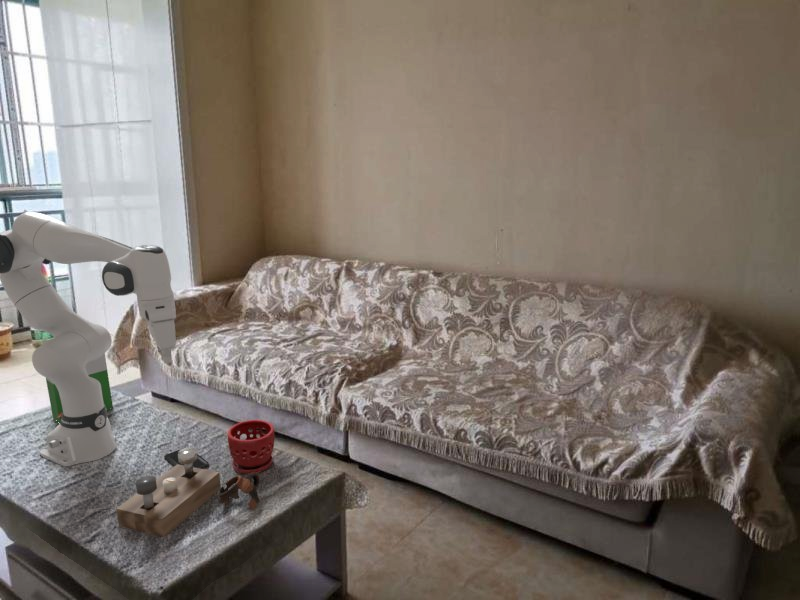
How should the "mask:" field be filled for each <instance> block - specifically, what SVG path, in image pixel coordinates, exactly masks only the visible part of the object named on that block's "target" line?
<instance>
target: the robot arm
mask: <svg viewBox="0 0 800 600" xmlns="http://www.w3.org/2000/svg"><path fill="white" fill-rule="evenodd" d="M167 256H168V255H167V254H166V251H165V250H164V249H163V248H162V247H160V246H158V245H153V244H140V245H136V246H133V247H132V246H129V245H126V244H124V243H121V242H119V241H116V240H113V239H111V238H107V237H104V236H102V235H99V234H96V233H93V232H90V231H86V230H83V229H82V228H78V227H77V226H75V225H74V226H73V225H71V224H69V223H67V222H65V221H62V220H60V219H58V218H57V217H53V216H51V215H48V214H45V213H41V212H37V211H25V212H23V213H21V214H19V215H18V216H17V217H15V219H14V220H13V223H12V227H11V228H10V229H8V230H5V231H2V232H0V283H1V284H2V287H3V289H4V291H5V293H6V295H7V296H8V298H9V299H10V301H11V303H12V304H13V305H14V307H15V308H16V309H17V311H18V312H19V313H20V314H21V316H22V317H23V319H24V320H25V321H26V322H27V324H28V326H30V328H32V329H34V330H37V331H41V332H45V333H47V334H49V335H51V336H52V337H53V338H50V339H48V340H46V341H45V342H44V343H42V344H40V345H39V346H38V347H37V348H36V349H35V350H33V354H32V355H31V356H32V357H31V363H32V366H33V368H34V369H35V371H36V372H37V373H38V374H40V375H41V376H42V377H44V378H46V377H47V378H49V379H51V380H52V381H53V383H54V384H55V385H56V387H57V389H58V391H59V395H60V399H61V404H62V409H63V412H62V413H60V414H61V415H60V414H58V415H60V416H58V417H57V418H59V417H61V416H62V417H61V423H60V424H59V423H58V425H57V426H56V427H54V428H52V430H51V431H50V432H49V433H47V437H46V443H47V444H46V446H44V447H43V448H42V449H41V450H40V451H39V453H38V454H39V456H40V455H41V457H42V456H43V457H42V458H44V457H45V459H47V460H49V461H51V462H54V463H56V464H58V465H61V466H63V467H70V466H73V465H77V464H83V463H88V462H93V461H97V460H99V459H102V458H104V457H106V456H109V454H111V453H113V452H114V451H115V449H116V447H117V443H116V441H117V440H116V439H117V437H116V435H115V434H113V430H112V425H111V422H110V420H109V418H108V410H107V409H106V406H105V404H104V402H103V396H102V390H101V384H100V382H99V381H98V380H96V379H95V378H92V377H89V376H88V374H87V372H86V368H85V367H86V364H88V363H90V362H92V361H94V360H96V359H98V358H100V357H101V356H102V355H103V354H104V353H105V354H106V353H107V352H108V351H109V350H110V349H111V347H112V341H113V340H112V335H111V334H110V331H108V329H107V328H105V327H104V326H103V325H100V324H96V323H93V322H90V321H89V320H86V319H85V318H84V317H82V316H81V315H79V314H78V313H76V312H75V311H74V310H73V309H72V308H71V307H70V306H69V305H67V303H66V302H65V300H64V299H63V298H62V297H61V295H60V294H59V292H58V291H57V290H56V289H55V288H54V286H53V285H52V283H51V282H50V281H49V280H48V279H47V278H46V276H45V274H44V273H43V271H42V264H44V265H49V264H51V263H52V262H53V263H55V264H63V265H73V264H81V263H91V262H103V263H105V265H104V266H103V268H102V272H101V280H102V284H103V286H104V287H105V289H106V290H107V291H108V292H109V293H111V294H112V295H114V296H118V297H119V296H121V297H123V296H129V295H132V294H135V295H136V301H137V307H138V314H139V317H141V318H143V319H144V320H145V323H147V324H148V325H147V326H148V330H149V334H150V335H151V337H152V339H153V341H154V342H155V345H156V349H157V352H158V354H159V355H162V358H163V362H164V364H170V363H172V361H173V360H172V350H173V349H175V348H176V343H177V342H176V341H177V340H176V324H175V319H177V314H176V313H177V312H176V311H177V310H176V303H175V302H176V301H175V296H174V295H175V294H174V292H173V289H172V285H171V281H172V275H171V268H170V263H169V260H168V257H167Z"/></svg>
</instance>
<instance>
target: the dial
mask: <svg viewBox="0 0 800 600" xmlns="http://www.w3.org/2000/svg"><path fill="white" fill-rule="evenodd" d="M163 489H164V492H165V493H171V492H174V491H175V490H176V489H177V485H176V479H175V478H167V479H165V480H163Z"/></svg>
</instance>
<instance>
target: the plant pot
mask: <svg viewBox="0 0 800 600" xmlns="http://www.w3.org/2000/svg"><path fill="white" fill-rule="evenodd" d="M250 429H252V430H251V431H249V430H250ZM257 429H259V430H257ZM263 429H264V430H265V431H266V434H265V433H263ZM243 435H246V438H245V439H241V436H243ZM251 435H252V436H251ZM257 435H259V437H258V436H257ZM227 443H228V449H229V453H230V456H231V458H232V460H231V461H232V462H231V466H232V468H233V470H235V471H236V472H238V473H241V474H245V475H246V474H247V475H248V474H250V473H253V472H255V473H257V474H258V473H260V472H263V471H265V470H267V469H268V468H269V467H270V466H271V465H272V464H273V460H274V457H273V451H274V446H275V427H274V425H273V424H272V423H270V422H269V421H266V420H262V419H252V420H251V419H250V420H244V421H241V422H237V423H235V424H234V425H231V427H230V428H229V429H228V431H227Z"/></svg>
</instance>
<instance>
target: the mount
mask: <svg viewBox="0 0 800 600" xmlns="http://www.w3.org/2000/svg"><path fill="white" fill-rule="evenodd" d="M193 470H194V475H193V476H191V477H186V476H185V469H184V465H179V464H177V465H176V466H174V467H173V466H172V467H171V468H170V469H168V470H167V471H166V472H165V473H163V474H162V475H161V476H159V477H158V478H156V483H157V489H156V490H155V491H154V492H152V494H153V501H154V506H153V507H151V508H145V507H144V501H143V495H140V494H138V493H137V492H136V494H134V495H133V496H131V497H130V498H128V499H127V500H126V501H124V502H123V503H121V504H120V505H119V506H118V507H116V508H115V511H116V515H117V516H116V518H117V524H118V527H121V528H125V529H127V530H132V531H137V532H139V533H140V532H141V533H144V534H148V535H152V536H157V537H161V538H167V536H168V535H170V533H172V532H173V531H174V530H175V529H176V528H178V526H180V525H181V524H182V523H184V521H185V520H187V519H188V518H189V517H190V516H191V515H192V514H194V513H195V512H196V511H197V510H198V509H199V508H201V507H202V506H203V505H204V504H205V503H206V502H207V501H209V500H210V499H211V498H212V497H213V496H214V495H215V494H216V493H217V494H218V491H219V490H220V488H221V487H222V485H221V476H220V475H221V473H220V471H215V470H209V469H206V468H204V469H200V468H194V467H193ZM167 478H175V479H176V485H177V489H176V490H175V491H174V492H171V493H165V492H164V489H163V480H165V479H167Z"/></svg>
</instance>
